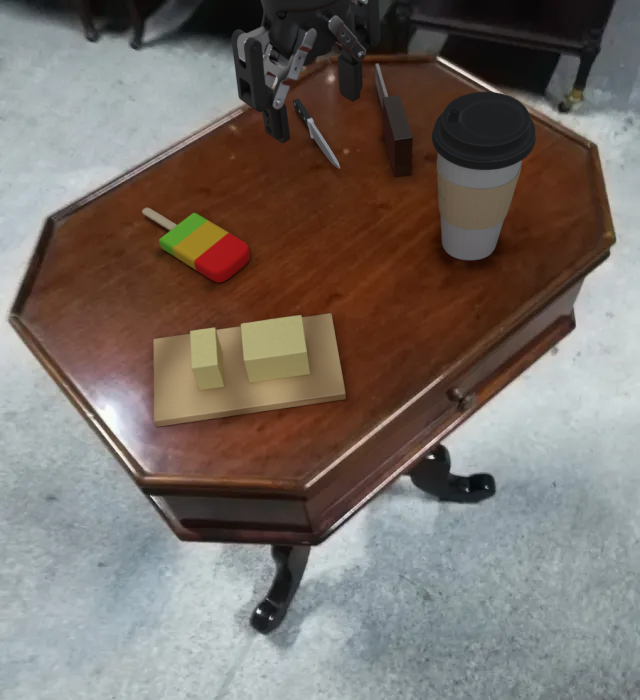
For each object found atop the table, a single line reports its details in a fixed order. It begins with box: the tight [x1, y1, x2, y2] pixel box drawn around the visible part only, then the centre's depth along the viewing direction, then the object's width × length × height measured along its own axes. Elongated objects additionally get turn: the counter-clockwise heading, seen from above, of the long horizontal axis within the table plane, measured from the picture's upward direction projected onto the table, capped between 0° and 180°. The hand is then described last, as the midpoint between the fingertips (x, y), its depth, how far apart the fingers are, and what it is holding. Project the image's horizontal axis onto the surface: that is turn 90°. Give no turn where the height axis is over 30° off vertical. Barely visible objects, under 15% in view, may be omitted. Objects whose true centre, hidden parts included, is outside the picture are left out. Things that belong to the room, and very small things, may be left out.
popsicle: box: [141, 207, 251, 283], centre depth 82 cm, size 6×15×2 cm, turn 49°
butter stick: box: [240, 314, 310, 383], centre depth 70 cm, size 6×4×4 cm
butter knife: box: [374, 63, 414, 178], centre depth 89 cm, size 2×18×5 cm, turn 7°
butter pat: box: [189, 327, 224, 390], centre depth 70 cm, size 2×4×4 cm, turn 7°
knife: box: [292, 98, 341, 169], centre depth 90 cm, size 15×1×2 cm, turn 22°
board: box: [153, 312, 347, 428], centre depth 72 cm, size 18×10×1 cm, turn 97°
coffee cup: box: [431, 91, 537, 261], centre depth 73 cm, size 9×9×15 cm
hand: (315, 117), depth 69 cm, fingers open, 8 cm apart
